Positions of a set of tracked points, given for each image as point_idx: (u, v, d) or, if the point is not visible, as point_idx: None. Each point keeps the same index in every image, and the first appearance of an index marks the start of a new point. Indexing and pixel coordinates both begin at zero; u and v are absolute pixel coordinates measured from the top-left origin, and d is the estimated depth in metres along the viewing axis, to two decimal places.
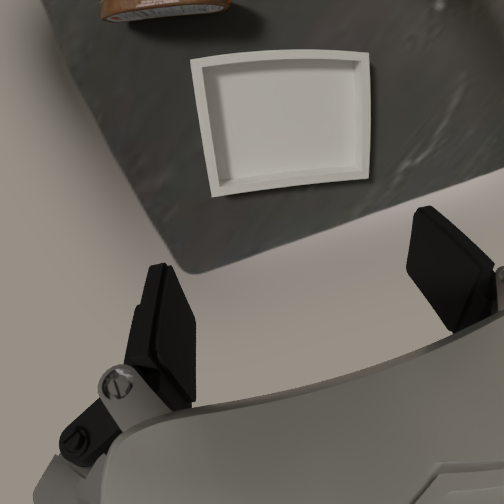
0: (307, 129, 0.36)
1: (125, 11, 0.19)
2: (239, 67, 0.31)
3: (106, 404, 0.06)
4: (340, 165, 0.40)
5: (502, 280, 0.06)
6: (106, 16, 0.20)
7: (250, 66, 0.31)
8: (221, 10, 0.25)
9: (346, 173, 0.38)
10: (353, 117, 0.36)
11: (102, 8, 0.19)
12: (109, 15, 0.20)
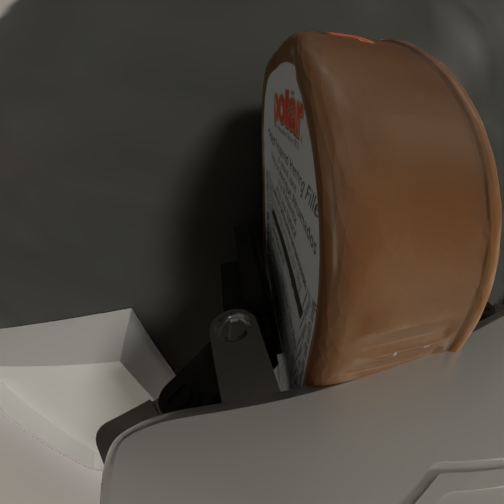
0: None
1: (324, 349, 0.04)
2: None
3: (225, 347, 0.07)
4: (85, 444, 0.23)
5: None
6: (327, 139, 0.03)
7: None
8: None
9: (81, 461, 0.21)
10: None
11: (407, 85, 0.03)
12: (332, 186, 0.03)
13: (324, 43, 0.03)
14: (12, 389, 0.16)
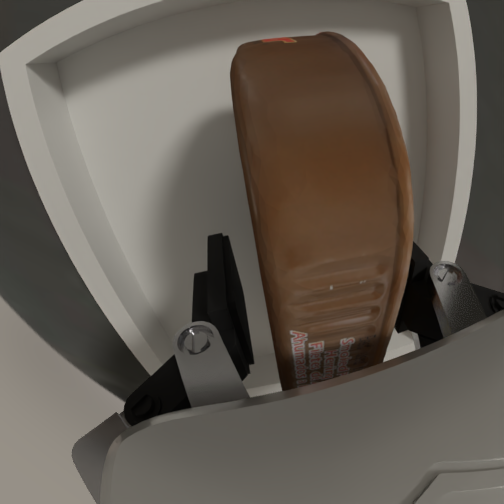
0: (252, 275, 0.15)
1: (268, 283, 0.05)
2: (416, 92, 0.10)
3: (186, 360, 0.06)
4: None
5: (439, 278, 0.07)
6: (242, 127, 0.04)
7: (417, 120, 0.11)
8: None
9: None
10: None
11: (311, 72, 0.04)
12: (247, 159, 0.04)
13: (250, 53, 0.05)
14: (96, 167, 0.11)
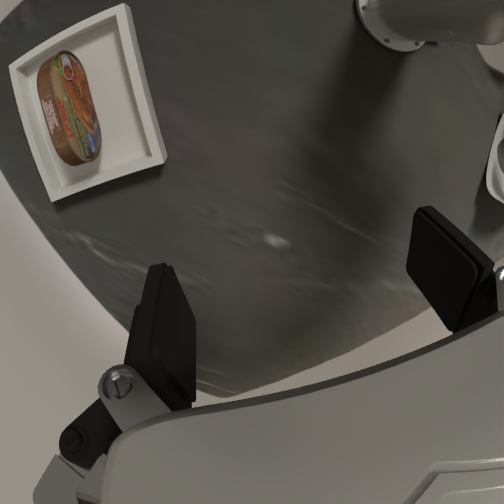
0: None
1: None
2: (123, 47, 0.27)
3: (106, 404, 0.06)
4: (57, 171, 0.34)
5: (502, 280, 0.06)
6: None
7: (125, 57, 0.27)
8: None
9: (48, 178, 0.32)
10: (100, 168, 0.35)
11: (47, 62, 0.20)
12: (37, 76, 0.20)
13: (45, 61, 0.21)
14: (34, 97, 0.27)
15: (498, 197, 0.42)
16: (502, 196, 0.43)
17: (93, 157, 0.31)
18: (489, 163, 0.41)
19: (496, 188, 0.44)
